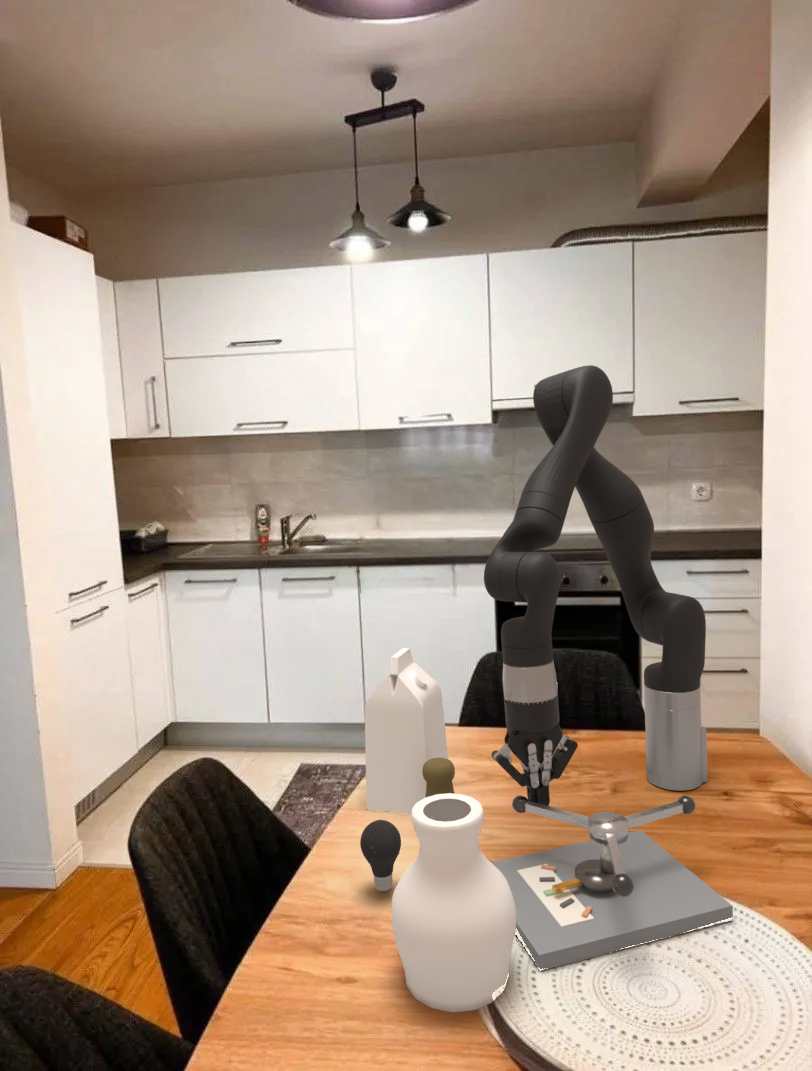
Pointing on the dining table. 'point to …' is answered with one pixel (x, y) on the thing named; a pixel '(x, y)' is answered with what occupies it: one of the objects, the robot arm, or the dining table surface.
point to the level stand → (605, 901)
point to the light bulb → (381, 851)
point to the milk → (402, 735)
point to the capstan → (603, 841)
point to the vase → (452, 909)
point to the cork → (438, 776)
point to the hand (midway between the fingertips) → (539, 808)
